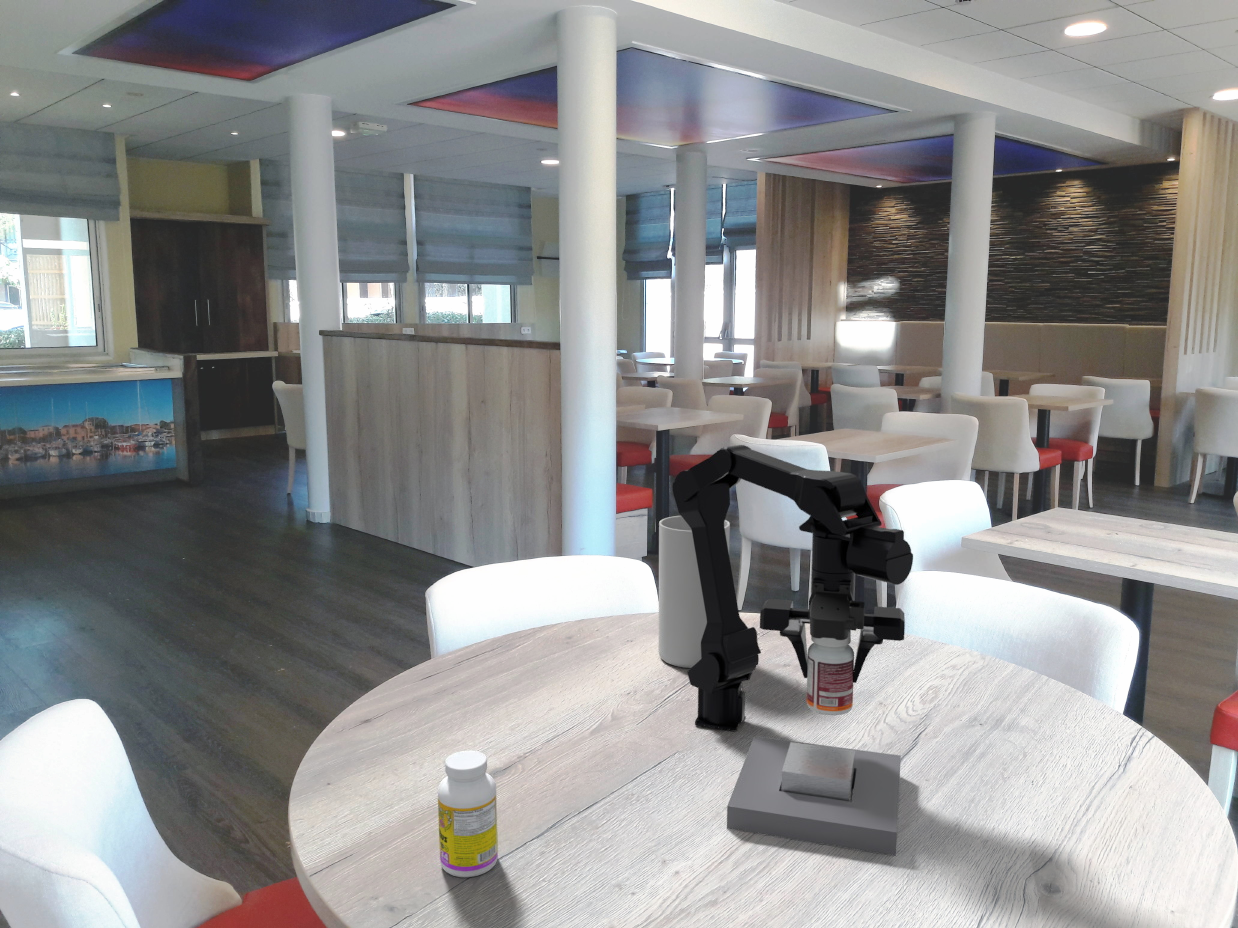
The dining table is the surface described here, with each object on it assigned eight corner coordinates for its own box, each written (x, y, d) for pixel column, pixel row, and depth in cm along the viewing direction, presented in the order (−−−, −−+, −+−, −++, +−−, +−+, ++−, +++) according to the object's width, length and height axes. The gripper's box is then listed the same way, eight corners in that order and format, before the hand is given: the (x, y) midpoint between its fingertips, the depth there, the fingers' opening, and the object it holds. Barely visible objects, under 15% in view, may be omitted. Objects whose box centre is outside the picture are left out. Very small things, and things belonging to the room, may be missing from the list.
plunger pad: (781, 792, 121) (781, 770, 121) (789, 762, 129) (790, 741, 128) (849, 802, 119) (850, 780, 118) (854, 771, 127) (854, 750, 126)
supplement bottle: (443, 847, 114) (439, 746, 112) (499, 845, 114) (496, 744, 112) (437, 881, 107) (433, 774, 105) (497, 878, 108) (494, 772, 106)
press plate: (726, 828, 118) (727, 805, 117) (753, 755, 137) (754, 735, 136) (895, 855, 112) (897, 832, 111) (899, 775, 131) (900, 755, 130)
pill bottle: (861, 709, 130) (864, 629, 128) (830, 720, 127) (833, 638, 125) (827, 694, 135) (830, 617, 133) (796, 705, 132) (798, 626, 130)
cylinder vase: (733, 649, 178) (736, 518, 174) (718, 673, 167) (720, 533, 162) (669, 641, 182) (670, 513, 178) (649, 664, 171) (650, 528, 167)
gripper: (755, 579, 123) (753, 695, 125) (907, 590, 118) (902, 710, 120) (765, 557, 133) (763, 664, 136) (906, 566, 128) (901, 677, 131)
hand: (830, 679), depth 130 cm, fingers closed on pill bottle, 6 cm apart
